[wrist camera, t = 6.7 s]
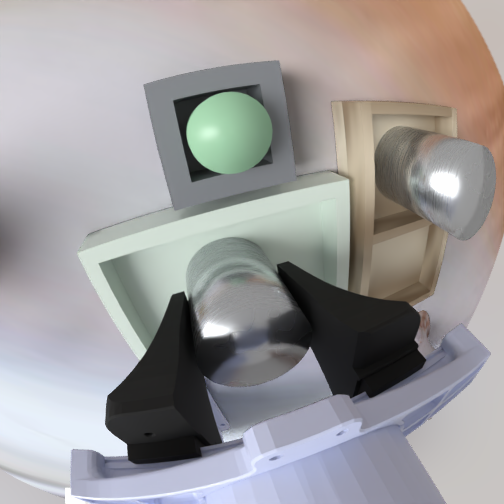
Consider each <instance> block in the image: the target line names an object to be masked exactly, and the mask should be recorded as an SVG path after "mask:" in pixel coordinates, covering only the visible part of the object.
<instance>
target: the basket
mask: <svg viewBox="0 0 504 504" xmlns="http://www.w3.org/2000/svg"><path fill="white" fill-rule="evenodd" d="M65 504H91V503H88V502H85V501H82V500H79V499H77V498H74V497H72V496H71V488H65Z"/></svg>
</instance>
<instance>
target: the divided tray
mask: <svg viewBox="0 0 504 504" xmlns="http://www.w3.org/2000/svg"><path fill="white" fill-rule="evenodd" d="M331 104H332V113H333V121H334V131H335V141H336V153H337V166H338V175H340V176H343V177H345V178H347V179H349V189H350V254H349V278H348V291H350V292H353V293H356V294H360V295H364V296H368V297H373V298H378V299H384V300H394V301H406V302H408V303H409V304H410V305H411V306H414V305H415V304H417V303H419V302H421V301H423V300H424V299H426V298H428V297H430V296H432V295H433V294H434V291H435V287H436V284H437V280H438V276H439V273H440V269H441V265H442V260H443V256H444V251H445V247H446V242H447V237H448V232H446V231H445V230H443V229H441V228H440V227H438V226H436V225H435V224H433V223H431V222H429V221H428V220H426V219H424V218H422V217H421V216H419V215H417V214H415V213H414V212H412V211H410V210H408V209H406V208H404V207H402V206H401V205H399V204H397V203H395V202H393V201H391V200H389V199H387V198H386V197H384V196H383V195H382V194H381V193H380V191H379V190H378V188H377V186H376V183H375V162H374V154H375V150H376V147H377V145H378V143H379V141H380V139H381V138H382V136H383V135H384V134H385V133H386V132H387V131H388V130H390V129H391V128H393V127H396V126H407V127H412V128H417V129H422V130H427V131H431V132H436V133H440V134H444V135H448V136H452V137H455V138H457V110H456V108H451V107H445V106H438V105H431V104H422V103H410V102H393V101H332V102H331Z"/></svg>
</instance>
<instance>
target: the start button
mask: <svg viewBox="0 0 504 504" xmlns="http://www.w3.org/2000/svg"><path fill="white" fill-rule="evenodd" d="M186 138H187V142H188V144H189V147H190V149H191V151H192V153H193V155H194V156H195V158H196V159H197V160H198V161H199V162H200V163H201V164H202V165H203V166H205V167H206V168H208V169H210V170H212V171H214V172H217V173H222V174H236V173H240V172H244V171H246V170H248V169H250V168H252V167H254V166H255V165H256V164H258V163H259V162H260V161H261V160H262V159H263V157H264V156H265V155H266V153H267V151H268V149H269V147H270V144H271V141H272V123H271V120H270V117H269V115H268V113H267V111H266V109H265V108H264V107H263V106H262V105H261V104H260V103H259V102H258V101H257V100H256V99H254V98H252V97H251V96H249V95H246V94H243V93H239V92H223V93H219V94H216V95H214V96H211V97H210V98H208V99H206V100H205V101H204V102H202V103H201V104H199V105H198V106H197V107H196V108H195V109H194V110H193V112H192V113H191V115H190V116H189V119H188V121H187V125H186Z"/></svg>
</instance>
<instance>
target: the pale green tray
mask: <svg viewBox="0 0 504 504" xmlns="http://www.w3.org/2000/svg"><path fill="white" fill-rule="evenodd" d="M296 178H297V181H292V182H288V183H283V184H279V185H274V186H270V187H265V188H261V189H257V190H253V191H248V192H244V193H240V194H236V195H232V196H228V197H224V198H220V199H216V200H213V201H209V202H205V203H201V204H198V205H194V206H191V207H187V208H183V209H180V210H176V211H175V210H174V207H171V208H168V209H164V210H161V211H158V212H154V213H151V214H148V215H144V216H141V217H138V218H135V219H132V220H129V221H126V222H123V223H120V224H117V225H114V226H111V227H108V228H105V229H102V230H99V231H96V232H93V233H91V234H88V236H87V237H86V239H85V240H84V242H83V243H82V245H81V247H80V248H79V250H78V252H77V254H78V257H79V259H80V261H81V263H82V265H83V267H84V269H85V271H86V273H87V275H88V277H89V279H90V281H91V283H92V284H93V286H94V288H95V290H96V292H97V294H98V296H99V297H100V299H101V301H102V303H103V304H104V306H105V308H106V310H107V311H108V313H109V315H110V316H111V318H112V320H113V321H114V323H115V325H116V326H117V328H118V329H119V331H120V332H121V334H122V336H123V337H124V339H125V340H126V342H127V343H128V345H129V346H130V348H131V349H132V351H133V352H134V353H135V355H136V356H137V358H138V359H139V361H140V360H141V359H142V357H143V356H144V354H145V353H146V351H147V349H148V348H149V346H150V344H151V343H152V341H153V339H154V337H155V335H156V333H157V331H158V328H159V326H160V324H161V322H162V319H163V317H164V314H165V312H166V309H167V306H168V304H169V301H170V298H171V296H172V294H176V293H179V292H183V291H184V292H185V295H186V297H187V300H188V295H187V286H186V271H187V267H188V264H189V262H190V260H191V259H192V257H193V256H194V255H195V254H196V252H197V251H198V250H200V249H201V248H202V247H203V246H205V245H206V244H208V243H210V242H212V241H215V240H218V239H221V238H227V237H238V238H243V239H247V240H249V241H252V242H254V243H255V244H257V245H258V246H259V247H260V248H261V249H262V250H263V251H264V252H265V254H266V256H267V257H268V259H269V260H270V262H271V263H272V265H273V266H274V268H275V270H276V271H277V273H278V270H277V264H280V263H284V262H287V261H289V262H291V263H293V264H294V265H296V266H298V267H299V268H301V269H303V270H304V271H306V272H308V273H310V274H311V275H313V276H315V277H317V278H319V279H321V280H323V281H325V282H327V283H329V284H332V285H334V286H336V287H339V288H341V289H344V290H347V291H348V278H349V254H350V189H349V179H347V178H345V177H343V176H340V175H338V174H336V173H334V172H331V171H329V170H327V171H322V172H316V173H311V174H306V175H301V176H296Z"/></svg>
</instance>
